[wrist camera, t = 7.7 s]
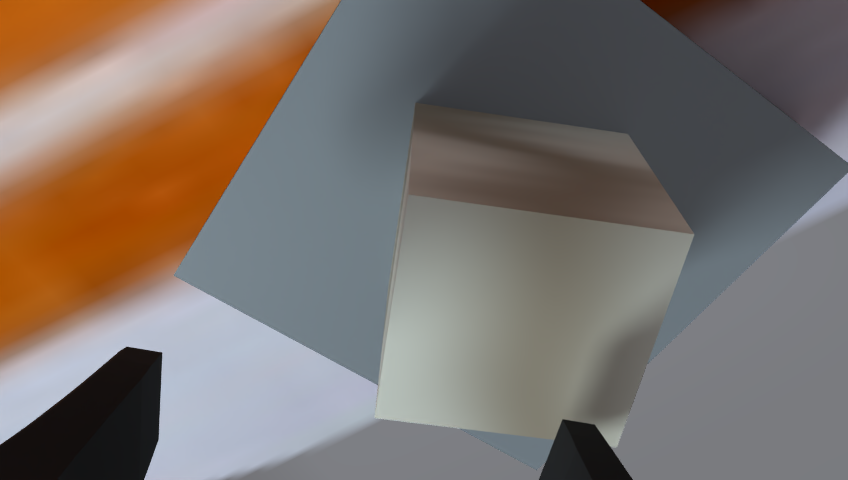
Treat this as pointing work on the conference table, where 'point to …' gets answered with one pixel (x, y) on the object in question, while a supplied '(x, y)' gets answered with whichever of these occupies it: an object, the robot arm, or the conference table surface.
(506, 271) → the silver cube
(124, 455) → the robot arm
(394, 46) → the blue-gray box
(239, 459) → the conference table surface
